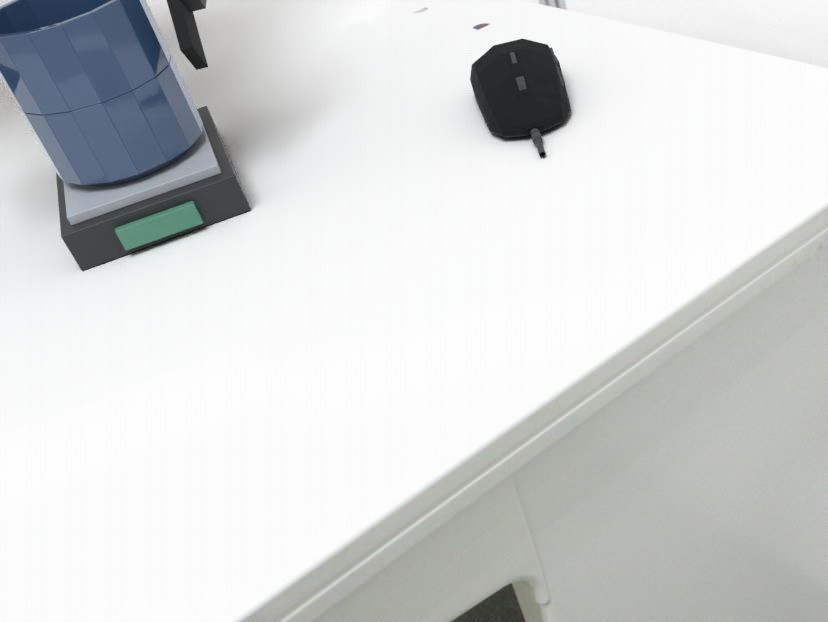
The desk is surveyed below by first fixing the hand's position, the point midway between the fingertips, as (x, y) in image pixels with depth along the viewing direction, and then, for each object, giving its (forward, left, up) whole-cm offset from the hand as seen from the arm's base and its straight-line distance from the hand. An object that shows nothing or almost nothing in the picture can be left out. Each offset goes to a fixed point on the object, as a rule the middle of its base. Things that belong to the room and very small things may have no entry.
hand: (86, 87), depth 67 cm
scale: (-1, +2, -9) cm, 9 cm away
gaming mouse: (+24, +9, -9) cm, 28 cm away
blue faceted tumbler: (-1, +2, -6) cm, 6 cm away
